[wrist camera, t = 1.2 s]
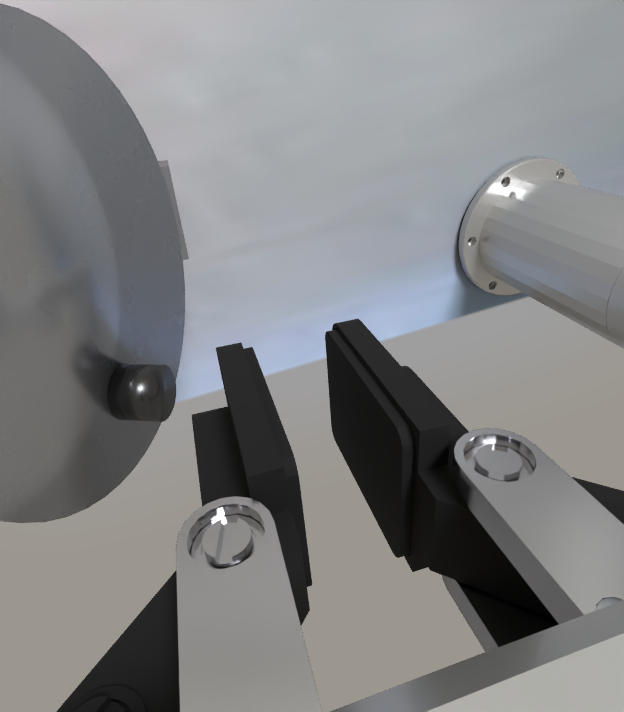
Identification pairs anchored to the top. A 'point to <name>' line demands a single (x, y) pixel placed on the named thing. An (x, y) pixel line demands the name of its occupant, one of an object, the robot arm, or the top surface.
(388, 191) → the top surface
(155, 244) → the cooker lid
